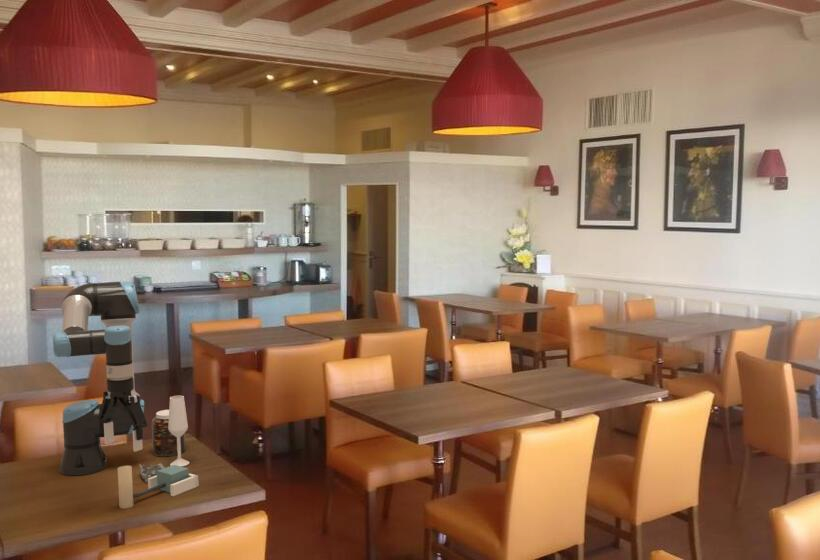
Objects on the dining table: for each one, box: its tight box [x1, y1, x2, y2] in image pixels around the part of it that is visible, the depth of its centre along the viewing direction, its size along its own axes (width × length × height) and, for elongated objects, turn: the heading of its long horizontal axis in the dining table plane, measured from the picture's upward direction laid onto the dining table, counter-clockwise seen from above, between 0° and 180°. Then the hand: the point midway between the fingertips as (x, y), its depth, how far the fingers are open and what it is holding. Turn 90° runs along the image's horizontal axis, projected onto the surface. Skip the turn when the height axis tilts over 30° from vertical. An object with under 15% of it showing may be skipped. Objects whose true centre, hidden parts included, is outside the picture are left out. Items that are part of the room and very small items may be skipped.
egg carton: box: [138, 463, 166, 483], centre depth 262 cm, size 11×8×4 cm
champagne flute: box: [168, 395, 190, 467], centre depth 275 cm, size 7×7×24 cm
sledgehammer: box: [117, 465, 190, 509], centre depth 245 cm, size 7×24×12 cm, turn 147°
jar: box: [151, 409, 186, 458], centre depth 288 cm, size 12×12×15 cm
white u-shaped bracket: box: [147, 472, 200, 497], centre depth 252 cm, size 12×10×4 cm
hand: (123, 446), depth 235 cm, fingers open, 13 cm apart
